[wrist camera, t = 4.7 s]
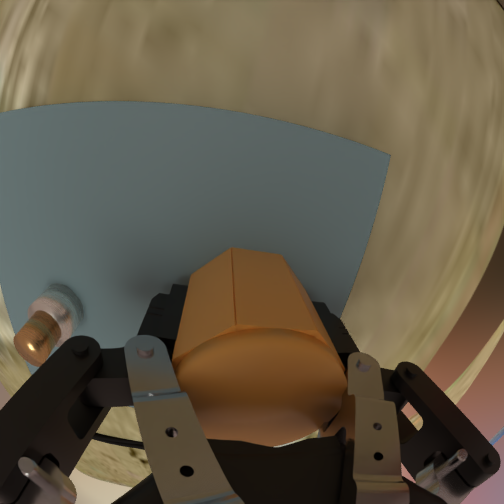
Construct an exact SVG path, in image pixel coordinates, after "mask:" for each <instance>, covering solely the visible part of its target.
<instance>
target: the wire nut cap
mask: <svg viewBox="0 0 504 504" xmlns="http://www.w3.org/2000/svg"><path fill="white" fill-rule="evenodd" d="M172 367H173V370H174V373H175V376H176V379H177V381H178V384H179V387H180V389H181V391H185V392H186V393H187V395H188V397H189V399H190V402H191V404H192V407H193V409H194V411H195V414H196V416H197V418H198V421H199V423H200V425H201V428H202V430H203V432H204V434H205V436H206V438H207V439H219V440H239V441H245V442H250V443H254V444H259V445H264V446H269V447H274V446H278V445H283V444H286V443H289V442H293V441H295V440H298V439H301V438H303V437H305V436H307V435H309V434H311V433H313V432H315V431H316V430H318V429H319V428H320V427H321V425H322V424H323V423H324V422H329V421H330V420H331V419H332V418H333V417H334V416H335V415H336V414H337V413H338V411H339V410H340V408H341V403H342V394H343V393H344V391H345V390H346V388H347V386H348V384H347V380H346V377H345V375H344V372H345V367H344V365H343V363H342V361H341V359H340V357H339V355H338V353H337V351H336V349H335V347H334V345H333V343H332V341H331V339H330V337H329V335H328V333H327V331H326V329H325V327H324V325H323V323H322V321H321V319H320V317H319V315H318V313H317V311H316V309H315V307H314V306H313V304H312V302H311V300H310V298H309V296H308V294H307V292H306V290H305V288H304V287H303V285H302V284H301V282H300V281H299V279H298V278H297V277H296V275H295V274H294V272H293V271H292V269H291V268H290V266H289V265H288V263H287V262H286V260H285V259H284V257H283V256H282V255H281V254H274V253H268V252H261V251H254V250H247V249H241V248H234V247H232V248H229V249H228V250H226V251H225V252H223V253H222V254H220V255H219V256H217V257H216V258H214V259H213V260H212V261H210V262H209V263H207V264H206V265H204V266H203V267H201V268H200V269H198V270H197V271H195V272H194V273H193V274H191V276H190V280H189V284H188V290H187V295H186V299H185V303H184V308H183V312H182V317H181V321H180V326H179V330H178V335H177V340H176V342H175V347H174V352H173V357H172Z"/></svg>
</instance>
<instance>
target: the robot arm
mask: <svg viewBox="0 0 504 504" xmlns="http://www.w3.org/2000/svg"><path fill="white" fill-rule="evenodd" d="M498 1H499V3H500V4H501V5H502V7H503V8H504V0H498ZM187 290H188V286H187V285H180V284H174V283H173V285H172V288H171V291H170V294H163V293H159V294H157V295H156V296H155V297H153V298H152V300H151V302H150V304H149V308H148V309H147V311H146V314H145V316H144V319H143V321H142V324H141V326H140V329H139V331H138V334H137V336H135V337H132V338H131V339H129V340H128V341H127V342H126V344H125V346H124V347H121V348H100V345H99V343H98V342H97V341H96V340H95V339H94V338H92V337H89V336H84V335H79V336H74V337H71V338H69V339H67V340H66V341H65V342H64V343H63V344H62V345H61V346H60V347H59V348H58V349H57V350H56V351H55V352H54V353H53V354H52V355H51V356H50V357H49V358H48V359H47V360H46V361H45V362H44V363H43V364H42V365H41V366H40V367H39V368H38V369H37V370H36V372H35V373H34V374H33V375H32V376H31V377H30V378H29V379H28V380H27V381H26V382H25V383H24V384H23V385H22V387H21V388H20V389H19V390H18V391H17V392H16V393H15V394H14V395H13V397H12V398H11V399H10V400H9V401H8V402H7V403H6V405H5V406H4V407H3V408H2V409H1V410H0V504H75V501H76V496H77V494H76V489H75V486H74V484H73V483H72V481H71V480H70V479H69V476H70V474H71V473H72V471H73V469H74V467H75V466H76V464H77V462H78V461H79V459H80V457H81V456H82V454H83V452H84V451H85V449H86V447H87V446H88V444H89V443H90V441H91V439H92V438H93V436H94V434H95V433H96V431H97V430H98V428H99V426H100V425H101V423H102V422H103V420H104V418H105V417H106V415H107V414H108V412H109V410H110V409H111V407H120V406H134V409H135V413H136V418H137V422H138V426H139V430H140V434H141V437H142V441H143V445H144V448H145V452H146V455H147V458H148V462H149V465H150V468H151V471H152V473H151V474H150V475H149V476H147V477H146V478H145V479H144V480H142V481H141V482H140V483H139V484H137V485H136V486H135V487H133V488H132V489H131V490H129V491H128V492H127V493H125V494H124V495H123V496H121V497H120V498H118V499H117V500H116V501H114V502H113V503H111V504H460V503H461V502H462V501H463V500H464V499H465V498H466V497H467V495H468V494H469V493H470V492H471V491H472V490H473V489H474V488H476V487H477V486H479V485H480V484H482V483H483V482H484V481H486V480H487V479H488V478H490V477H491V476H492V475H493V474H495V473H496V472H497V471H498V470H499V468H500V456H499V454H498V452H497V451H496V450H495V448H494V447H493V446H492V445H491V444H490V443H489V442H488V441H487V439H486V438H485V437H484V436H483V435H482V434H481V433H480V431H479V430H478V429H477V428H476V427H475V426H474V425H473V424H472V423H471V422H470V420H469V419H468V418H467V417H466V416H465V415H464V414H463V413H462V412H461V411H460V410H459V409H458V407H457V406H456V405H455V404H454V403H453V402H452V401H451V400H450V399H449V398H448V397H447V396H446V395H445V393H444V392H443V391H442V390H441V389H440V388H439V387H438V386H437V385H436V384H435V383H434V382H433V381H432V380H431V379H430V378H429V377H428V376H427V375H426V374H425V373H424V372H423V371H422V370H421V369H420V368H419V367H418V366H417V365H415V364H413V363H411V362H401V363H399V364H398V366H397V367H396V369H395V370H389V369H384V368H380V365H379V363H378V362H377V360H376V359H374V358H373V357H372V356H370V355H368V354H366V353H362V352H360V351H359V350H358V348H357V346H356V344H355V343H354V341H353V339H352V338H351V336H350V335H349V333H348V331H347V329H345V326H344V324H343V323H342V321H341V320H340V319H339V318H338V317H337V316H336V315H334V314H333V313H330V311H329V309H328V307H327V306H326V304H325V303H324V302H316V301H311V302H312V304H313V306H314V307H315V309H316V311H317V313H318V315H319V317H320V319H321V321H322V323H323V325H324V327H325V329H326V331H327V333H328V335H329V337H330V339H331V341H332V343H333V345H334V347H335V349H336V351H337V353H338V355H339V357H340V359H341V361H342V363H343V365H344V367H345V372H344V375H345V377H346V380H347V384H348V386H347V388H346V390H345V391H344V393H343V394H342V403H341V408H340V410H339V411H338V413H337V414H336V415H335V416H334V417H333V418H332V419H331V420H330V421H329V422H324V423H323V424H322V425H321V427H320V428H319V432H318V437H317V438H310V439H306V440H302V441H299V442H296V443H293V444H289V445H286V446H282V447H269V446H264V445H259V444H254V443H250V442H245V441H239V440H219V439H207V438H206V436H205V434H204V432H203V430H202V428H201V425H200V423H199V421H198V418H197V416H196V414H195V411H194V409H193V407H192V404H191V402H190V399H189V397H188V395H187V393H186V392H185V391H181V389H180V387H179V384H178V381H177V379H176V376H175V373H174V370H173V367H172V357H173V352H174V347H175V342H176V340H177V335H178V330H179V326H180V321H181V317H182V312H183V308H184V303H185V299H186V295H187ZM407 402H409V403H410V404H411V405H412V406H413V408H414V409H415V410H416V411H417V412H418V413H419V415H420V416H421V417H422V419H423V426H422V428H421V429H420V430H419V431H418V430H417V429H416V428H415V427H414V425H413V424H412V423H411V422H410V421H409V419H408V418H407V417H406V416H405V415H404V414H403V412H402V411H401V410H402V409H403V407H404V406H405V405H406V404H407ZM401 463H402V464H403V465H404V466H405V468H406V469H407V471H408V472H409V473H410V474H411V476H412V477H413V479H414V480H415V481H416V483H413V482H412V481H410V480H408V479H407V478H405V477H403V476H402V474H401V473H402V472H401Z"/></svg>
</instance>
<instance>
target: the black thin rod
mask: <svg viewBox="0 0 504 504" xmlns="http://www.w3.org/2000/svg"><path fill="white" fill-rule="evenodd" d="M92 439H94V440H98V441H101V442H105V443H110V444H114V445H119V446H125V447H132V448H138V449H143V450H145V448H144V445H143V442H139V441H132V440H126V439H118V438H114V437H110V436H106V435H102V434H98V433H95V434H94V436H93V438H92Z"/></svg>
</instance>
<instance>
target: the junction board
mask: <svg viewBox="0 0 504 504" xmlns="http://www.w3.org/2000/svg"><path fill="white" fill-rule="evenodd" d="M390 156H391V155H389V154H387V153H384V152H382V151H379V150H377V149H374V148H371V147H368V146H366V145H363V144H360V143H357V142H354V141H351V140H348V139H345V138H342V137H339V136H336V135H333V134H329V133H326V132H323V131H319V130H316V129H312V128H308V127H305V126H301V125H297V124H293V123H289V122H285V121H280V120H276V119H272V118H267V117H262V116H257V115H252V114H247V113H241V112H236V111H230V110H223V109H216V108H209V107H201V106H193V105H183V104H172V103H158V102H136V101H98V102H77V103H63V104H53V105H44V106H37V107H30V108H24V109H18V110H12V111H7V112H2V113H0V285H1V289H2V293H3V297H4V301H5V304H6V308H7V311H8V314H9V318H10V321H11V324H12V327H13V330H14V333H15V335H16V334H17V333H18V332H19V330H20V329H21V328H22V327H23V326H24V324H25V323H26V322H27V321H28V320H29V319H28V308H29V306H30V305H31V304H32V303H33V302H34V301H35V300H36V299H37V298H38V297H39V296H40V295H41V294H42V293H43V292H44V291H45V290H46V289H47V288H48V287H49V286H50V285H51V284H53V283H60V284H63V285H66V286H67V287H69V288H70V289H71V290H73V291H74V293H75V294H76V295H77V296H78V298H79V299H80V301H81V303H82V306H83V310H84V315H83V319H82V321H81V322H80V323H79V325H78V327H77V328H76V330H75V331H74V333H73V334H72V336H71V337H74V336H79V335H84V336H89V337H92V338H94V339H95V340H96V341H97V342H98V343H99V345H100V348H121V347H124V346H125V344H126V342H127V341H128V340H129V339H131V338H132V337H135V336H137V334H138V331H139V329H140V326H141V324H142V321H143V319H144V316H145V314H146V311H147V309H148V308H149V304H150V302H151V300H152V298H153V297H155V296H156V295H157V294H159V293H163V294H170V291H171V288H172V285H173V283H174V284H180V285H187V286H188V284H189V280H190V276H191V274H193V273H194V272H195V271H197V270H198V269H200V268H201V267H203V266H204V265H206V264H207V263H209V262H210V261H212V260H213V259H214V258H216V257H217V256H219V255H220V254H222V253H223V252H225V251H226V250H228V249H229V248H232V247H234V248H241V249H247V250H254V251H261V252H268V253H274V254H281V255H282V256H283V257H284V259H285V260H286V262H287V263H288V265H289V266H290V268H291V269H292V271H293V272H294V274H295V275H296V277H297V278H298V279H299V281H300V282H301V284H302V285H303V287H304V288H305V290H306V292H307V294H308V296H309V298H310V300H311V301H316V302H324V303H325V304H326V306H327V307H328V309H329V311H330V313H333V314H334V315H336V316H337V317H338V318H339V319H340V317H341V315H342V312H343V310H344V307H345V305H346V302H347V300H348V297H349V294H350V292H351V289H352V286H353V284H354V281H355V278H356V275H357V273H358V270H359V267H360V264H361V261H362V258H363V255H364V252H365V249H366V246H367V243H368V240H369V237H370V233H371V230H372V227H373V223H374V220H375V217H376V213H377V209H378V206H379V202H380V198H381V195H382V191H383V187H384V183H385V179H386V174H387V170H388V166H389V161H390ZM71 337H70V338H71ZM58 348H59V347H54V349H53V350H52V352H51V353H50V355H49V356H48V358H49V357H50V356H51V355H52V354H53V353H54V352H55V351H56V350H57V349H58ZM48 358H47V359H48ZM25 361H26V360H25ZM26 363H27V366H28V368H29V370H30V372H31V374H32V375H33V374H34V373H35V372H36V370H37V369H38V368H39V367H36V366H33V365H31V364H30V363H28V362H27V361H26ZM129 407H133V408H134V406H129Z"/></svg>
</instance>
